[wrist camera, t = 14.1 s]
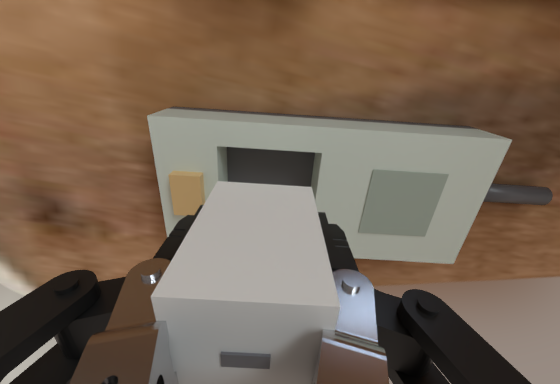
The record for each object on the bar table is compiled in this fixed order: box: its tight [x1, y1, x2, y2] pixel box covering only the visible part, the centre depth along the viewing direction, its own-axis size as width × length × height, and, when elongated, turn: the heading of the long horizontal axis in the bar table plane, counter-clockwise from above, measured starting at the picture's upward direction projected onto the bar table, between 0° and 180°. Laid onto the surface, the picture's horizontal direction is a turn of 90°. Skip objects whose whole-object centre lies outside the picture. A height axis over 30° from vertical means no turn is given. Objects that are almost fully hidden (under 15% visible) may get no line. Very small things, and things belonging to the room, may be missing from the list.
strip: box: [147, 107, 552, 264], centre depth 15 cm, size 24×8×4 cm, turn 86°
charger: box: [151, 181, 340, 384], centre depth 9 cm, size 4×4×6 cm
